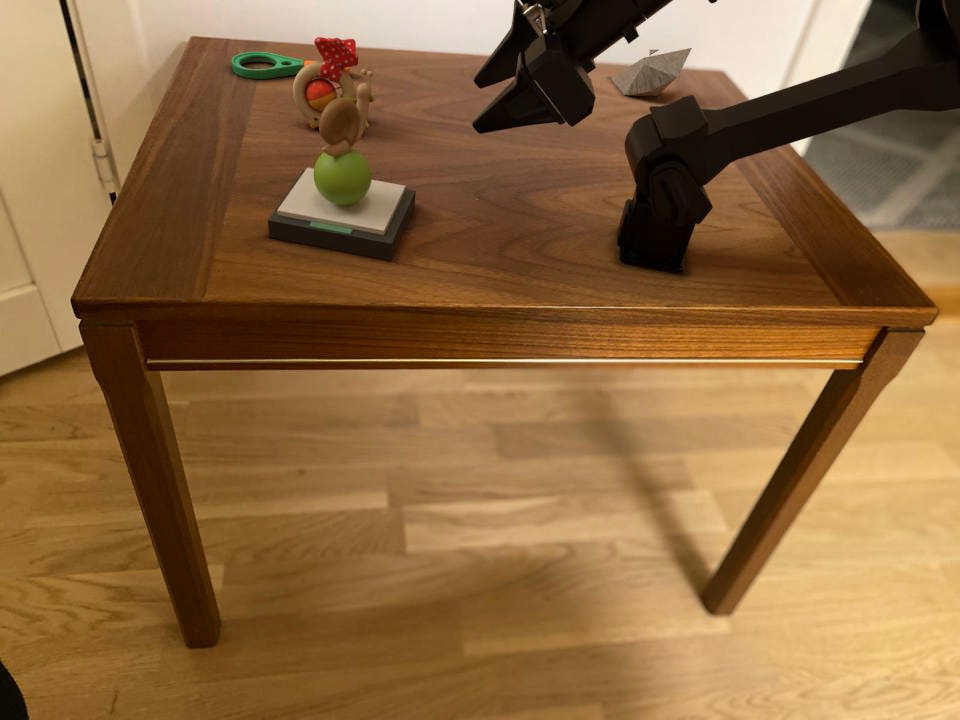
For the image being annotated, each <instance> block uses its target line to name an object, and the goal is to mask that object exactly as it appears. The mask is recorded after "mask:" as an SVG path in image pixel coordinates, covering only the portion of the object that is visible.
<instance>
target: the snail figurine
mask: <svg viewBox="0 0 960 720" xmlns="http://www.w3.org/2000/svg"><path fill="white" fill-rule="evenodd" d="M361 75H363V82H361V83H360V84H359V85H358V86H357V87H356V94H357V104H356V105H355V103H354V102H352V101H351V100H350V99H347V98H340V97H337V99H335V100H333V101H331V102H330V103H329V104H328V105H327V106H326V107H325V109H324V111H323V112H322V115H321V118H320V122H319V127H318V130H319V136H320V138H321V139H322V141H324V142H325V143H326V144H327V145H325V146H323V147H322V149H321V150H322V152H323V153H321V155H319V157H318V158H317V160H316V162H315V165H314V167H313V169H314V182H315V185H316V188H317V189H318V191H319V193H320V194H321V195H322V196H323V197H324V198H325V199H326V200H328V201H329V202H331V203H334V204H337V205H350V204H354V203H356V202H358V201H359V200H361V199H362V198H363V197H364V196H365V195H366V194H367V192H368V190H369V188H370V185H371V180H373V179H372V178H373V177H372V168H371V166H370V164H369V162H368V160H367V158H365V156H364V155H362V153H361V152H359V151H358V150H356V149H354V148H353V147H354V146H355V145H356V144H357V143H358V142H359V141H360V139H361V138H362V136H363V134H364V131H365V130H364V128H365V125H366V121H367V122H368V117H369V116H368V115H369V109H370V102H369V98H370V95H371V94H372V87H371V84H372V83H371V82H372V81H371V80H372V77H374V72H373V71H372V70H367V68H362V69H361ZM366 76H367V77H368V78H369V83H367V82H366Z"/></svg>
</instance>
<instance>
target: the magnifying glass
mask: <svg viewBox="0 0 960 720" xmlns="http://www.w3.org/2000/svg"><path fill="white" fill-rule="evenodd" d="M315 61H316V60H303V59H298V58H295V57H290V56H286V55H281V54H277V53H273V52H267V51H246V52H242V53H238V54H236V55H234V56H233V57H232V58H231V67H232V71H233V72H234V74H236V75H238V76H240V77H243V78H246V79H253V80H267V79H274V78H281V77H287V76H293V75H297V74H298V73H299V71H300V70H301V69H302V68H303V67H305V66H306V65H308V64H309V63H312V62H315ZM250 62H268V63H271V64H274V66H272V67H269V68H261V69H259V68H258V69H256V68H255V69H254V68H247V67H245V66H242V65H244V64H246V63H250ZM344 69H345V70H346V71H347V72H348V74H349V75H350V74H351V67H346V68H344ZM350 76H351V75H350Z"/></svg>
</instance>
